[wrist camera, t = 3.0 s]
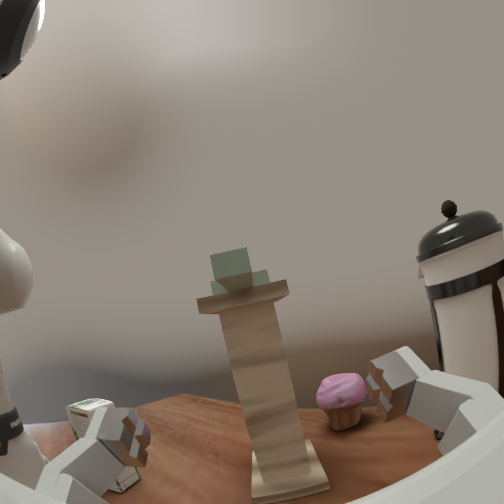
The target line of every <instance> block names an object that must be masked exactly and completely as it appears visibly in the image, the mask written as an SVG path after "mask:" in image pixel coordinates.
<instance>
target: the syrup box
mask: <svg viewBox="0 0 504 504" xmlns="http://www.w3.org/2000/svg"><path fill="white" fill-rule="evenodd" d="M98 407H115V406H114V403H113V402H111V401H107V400H103V399H88V400H85V401H82V402H78V403H75V404H72V405H68V406H66V407H65V408H66V411H67V414H68V417H69V421H70V424H71V426H72V429H73V432H74V435H75V437H76V440H79V439H80V438H81V437H82V438H84V437H85V435H86V432H87V430H88V427H89V425H90V422H91V420H92V418H93V415H94V413H95V410H96V409H97V408H98ZM125 467H126V468H125V469H124V471H123V472H122V473H121V474H120V475H119V477H118V478H117V479H116V480H115V481H114V483H113V484H112V485H111V486H110V487H109V488H108V489H110V490H113V491H116V492H119V493H123V492H124V491H125V490H127V489H128V488H129V487H131V486H132V485H133V484H135V483H136V482H137V481H138V480H140V479H141V476H140V474H139V472H138V470H137V467H128V466H125Z"/></svg>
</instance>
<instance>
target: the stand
mask: <svg viewBox="0 0 504 504" xmlns="http://www.w3.org/2000/svg"><path fill="white" fill-rule="evenodd" d="M287 295H289V290H288V286H287V282H286V280H281V281H277V282H272V283H268V284H263V285H259V286H254V287H250V288H246V289H241V290H236V291H232V292H227V293H223V294H218V295H213V296H209V297H204V298H199V299H197V304H198V309H199V313H200V314H219V316H220V321H221V325H222V330H223V334H224V339H225V343H226V347H227V351H228V356H229V360H230V364H231V368H232V372H233V376H234V380H235V384H236V388H237V392H238V396H239V400H240V404H241V407H242V411H243V415H244V418H245V422H246V426H247V429H248V433H249V436H250V440H251V443H252V447H253V450H254V451H253V454H252V491H251V498H252V501H253V504H268V503H274V502H279V501H284V500H289V499H294V498H298V497H303V496H307V495H311V494H315V493H318V492H322V491H325V490H329V489H330V485H329V480H328V478H327V476H326V474H325V472H324V470H323V467H322V465H321V463H320V461H319V459H318V457H317V454H316V452H315V450H314V448H313V446H312V444H311V441H310V439H307V440H304V435H303V431H302V426H301V421H300V417H299V412H298V408H297V403H296V399H295V395H294V390H293V386H292V381H291V377H290V373H289V368H288V363H287V359H286V355H285V350H284V346H283V342H282V337H281V333H280V329H279V325H278V320H277V316H276V311H275V307H274V303H273V302H276V301H279V300H281V299H282V298H284V297H286V296H287Z"/></svg>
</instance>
